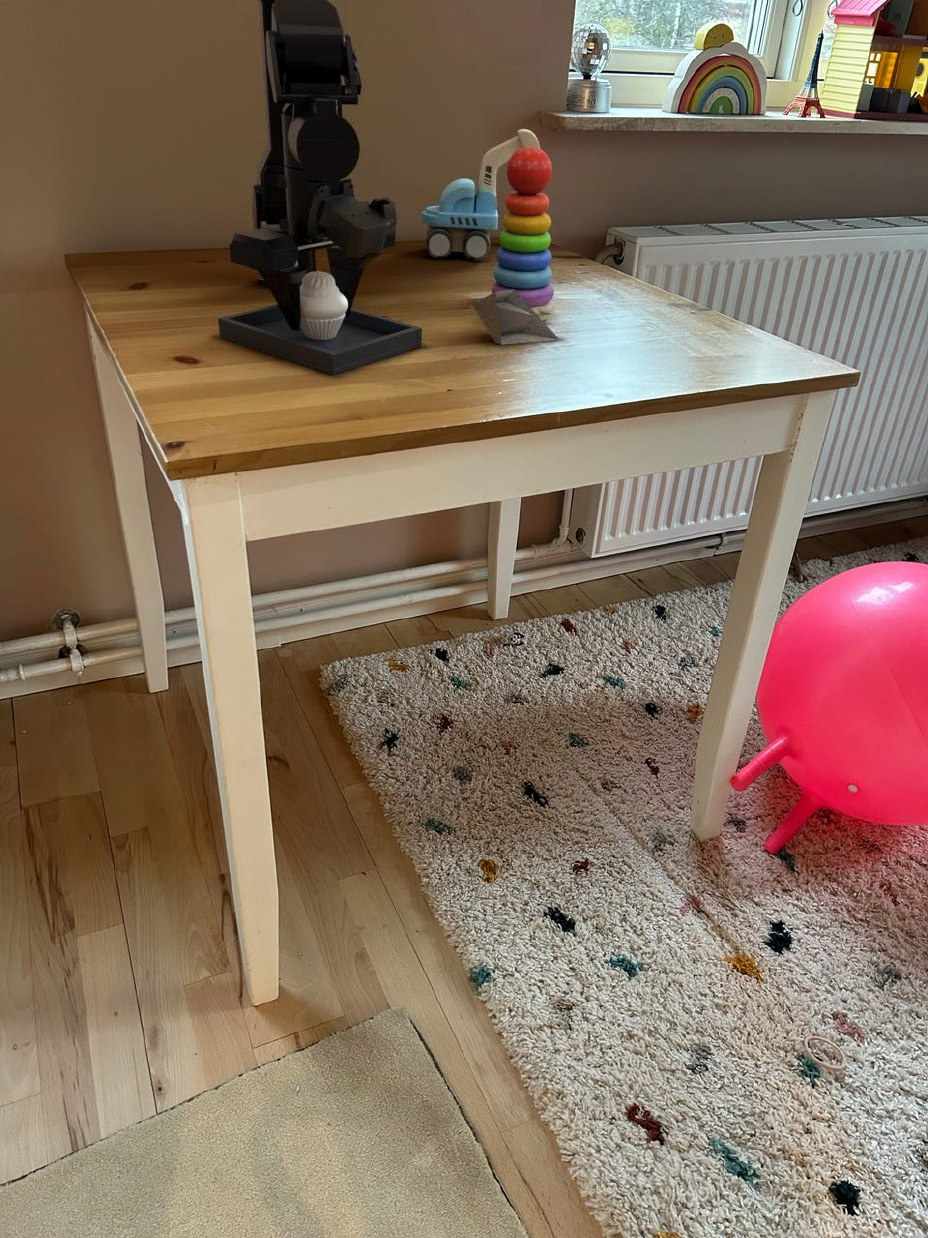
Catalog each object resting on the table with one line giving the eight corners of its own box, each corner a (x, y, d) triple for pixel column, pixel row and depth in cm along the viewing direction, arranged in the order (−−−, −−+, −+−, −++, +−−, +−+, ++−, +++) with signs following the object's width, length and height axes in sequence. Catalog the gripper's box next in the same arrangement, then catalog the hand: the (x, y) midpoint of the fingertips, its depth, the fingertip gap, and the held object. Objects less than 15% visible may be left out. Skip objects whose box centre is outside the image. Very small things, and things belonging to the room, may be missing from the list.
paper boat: (523, 313, 113) (587, 308, 107) (511, 365, 113) (574, 363, 107) (458, 268, 104) (524, 259, 98) (445, 324, 104) (510, 319, 98)
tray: (310, 314, 114) (309, 296, 112) (422, 346, 105) (422, 327, 103) (219, 337, 104) (217, 318, 103) (333, 375, 95) (332, 354, 94)
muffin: (315, 324, 108) (312, 260, 104) (359, 334, 105) (358, 269, 101) (280, 337, 103) (276, 270, 99) (325, 348, 101) (323, 280, 97)
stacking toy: (484, 306, 120) (493, 140, 109) (547, 307, 120) (561, 142, 110) (491, 324, 113) (501, 149, 103) (557, 325, 114) (574, 152, 103)
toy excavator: (533, 264, 140) (543, 134, 131) (420, 259, 140) (422, 128, 130) (530, 251, 147) (539, 127, 138) (423, 246, 147) (424, 121, 138)
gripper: (300, 186, 85) (308, 359, 93) (435, 168, 97) (432, 322, 106) (219, 170, 90) (234, 335, 99) (356, 154, 103) (359, 302, 111)
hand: (320, 323), depth 103 cm, fingers open, 7 cm apart
